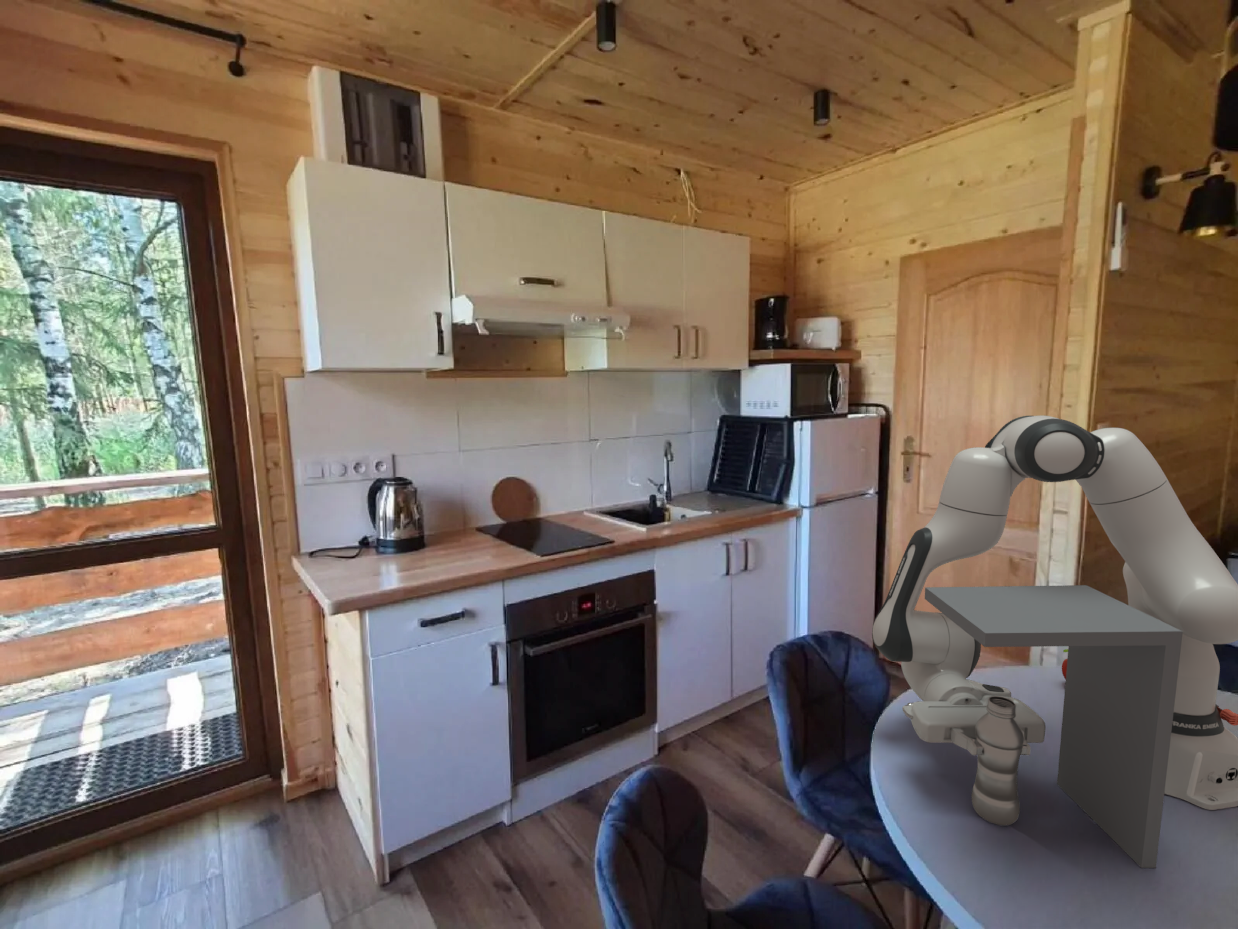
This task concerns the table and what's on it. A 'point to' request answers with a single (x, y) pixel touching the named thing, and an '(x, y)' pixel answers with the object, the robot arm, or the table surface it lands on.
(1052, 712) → the table surface
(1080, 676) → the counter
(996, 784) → the plastic bottle
